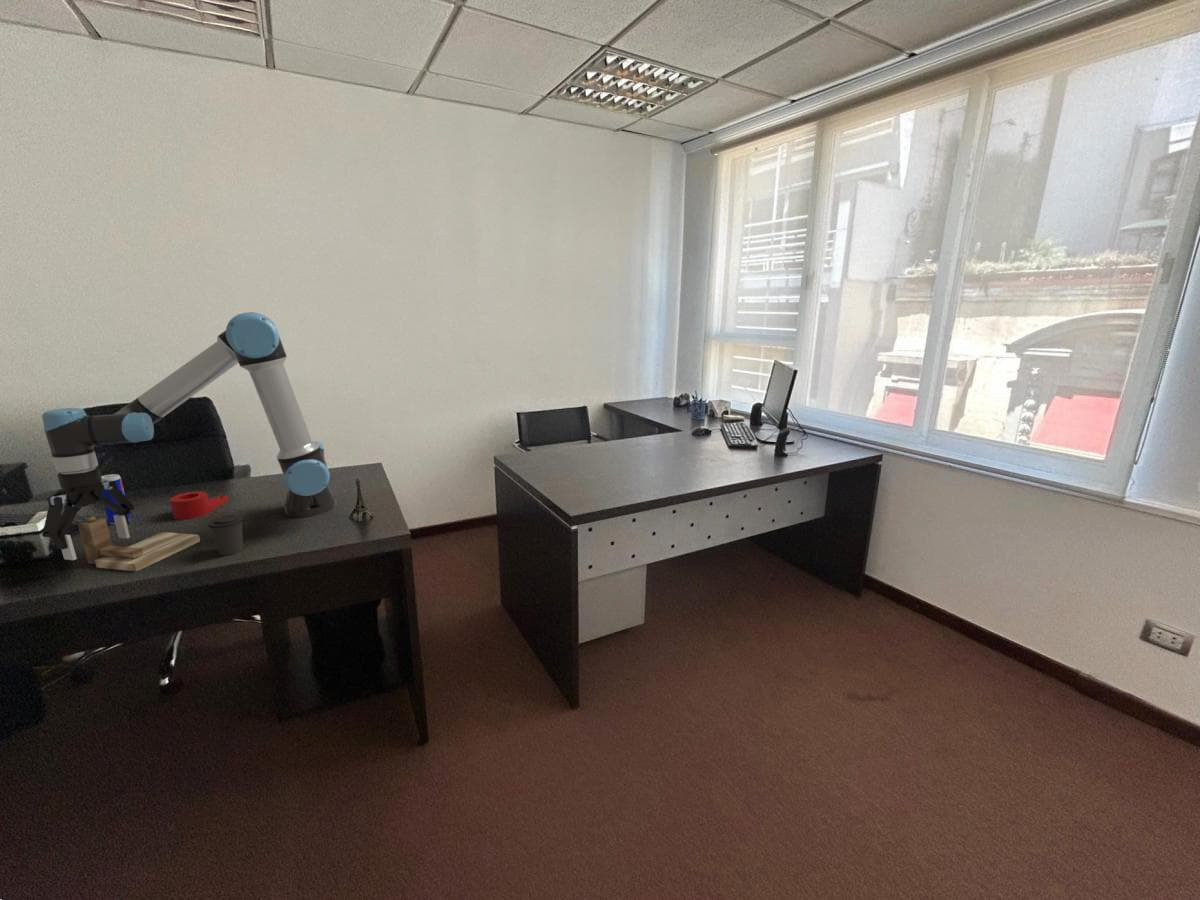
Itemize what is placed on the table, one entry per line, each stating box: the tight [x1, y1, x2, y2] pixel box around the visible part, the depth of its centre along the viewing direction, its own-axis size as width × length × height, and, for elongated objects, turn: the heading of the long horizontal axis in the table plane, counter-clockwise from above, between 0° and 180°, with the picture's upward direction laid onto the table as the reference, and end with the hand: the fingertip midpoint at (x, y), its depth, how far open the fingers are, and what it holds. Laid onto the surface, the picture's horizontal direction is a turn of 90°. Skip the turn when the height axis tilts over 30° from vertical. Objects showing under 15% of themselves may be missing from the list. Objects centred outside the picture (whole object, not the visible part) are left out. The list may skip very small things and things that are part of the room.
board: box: [95, 531, 201, 572], centre depth 137 cm, size 12×18×2 cm, turn 172°
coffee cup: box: [207, 514, 245, 557], centre depth 138 cm, size 8×8×10 cm
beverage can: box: [101, 473, 132, 525], centre depth 156 cm, size 5×5×15 cm
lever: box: [169, 491, 229, 521], centre depth 168 cm, size 18×9×7 cm, turn 172°
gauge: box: [77, 515, 143, 565], centre depth 131 cm, size 14×4×12 cm, turn 82°
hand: (98, 547), depth 132 cm, fingers open, 12 cm apart
